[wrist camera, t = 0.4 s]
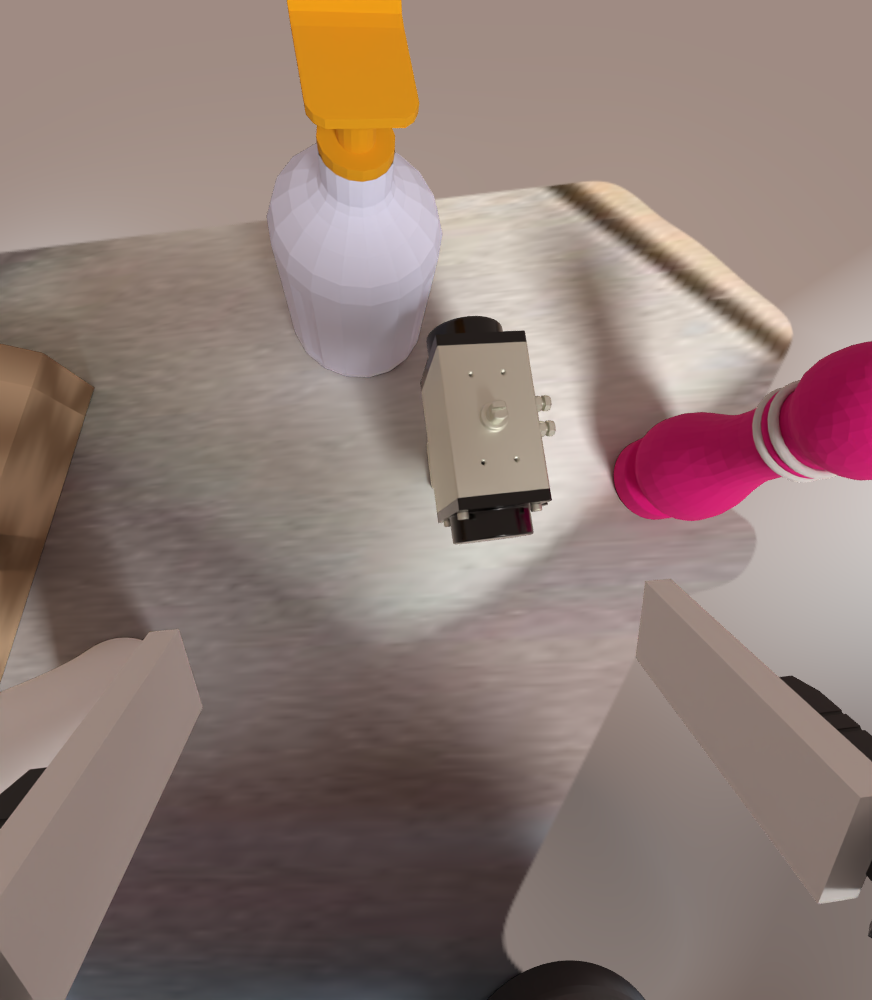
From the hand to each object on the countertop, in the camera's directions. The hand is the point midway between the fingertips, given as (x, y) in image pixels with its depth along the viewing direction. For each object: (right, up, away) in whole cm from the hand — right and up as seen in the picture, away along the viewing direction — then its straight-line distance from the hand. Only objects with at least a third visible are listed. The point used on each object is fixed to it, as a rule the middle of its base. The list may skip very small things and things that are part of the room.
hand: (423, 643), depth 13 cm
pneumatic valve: (+2, +7, +20) cm, 22 cm away
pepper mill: (+17, +6, +23) cm, 29 cm away
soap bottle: (-5, +17, +21) cm, 27 cm away
